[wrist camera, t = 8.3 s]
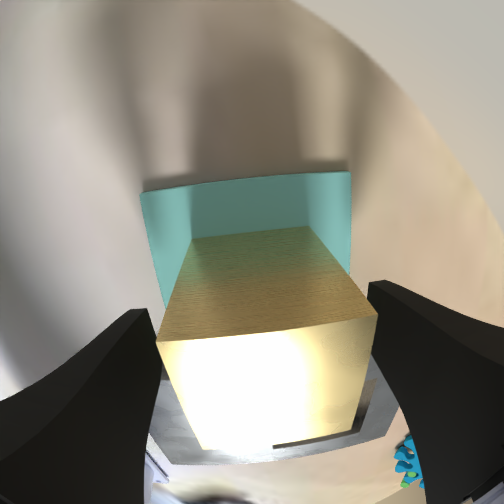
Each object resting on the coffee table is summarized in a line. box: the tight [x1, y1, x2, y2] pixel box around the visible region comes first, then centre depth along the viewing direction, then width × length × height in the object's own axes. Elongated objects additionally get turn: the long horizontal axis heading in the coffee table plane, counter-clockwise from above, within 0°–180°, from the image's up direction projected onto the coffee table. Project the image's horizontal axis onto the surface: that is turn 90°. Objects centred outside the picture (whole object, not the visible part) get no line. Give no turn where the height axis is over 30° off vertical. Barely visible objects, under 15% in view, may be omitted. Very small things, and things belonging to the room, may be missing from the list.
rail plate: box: [149, 354, 399, 465], centre depth 15 cm, size 16×10×1 cm, turn 95°
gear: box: [394, 435, 425, 489], centre depth 19 cm, size 11×6×10 cm
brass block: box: [156, 226, 378, 449], centre depth 9 cm, size 4×4×6 cm
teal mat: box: [139, 171, 351, 308], centre depth 12 cm, size 8×8×1 cm
